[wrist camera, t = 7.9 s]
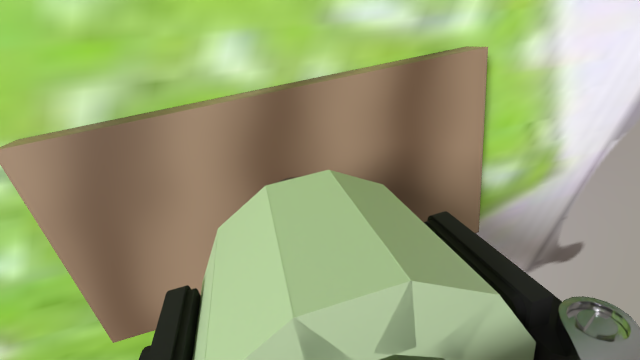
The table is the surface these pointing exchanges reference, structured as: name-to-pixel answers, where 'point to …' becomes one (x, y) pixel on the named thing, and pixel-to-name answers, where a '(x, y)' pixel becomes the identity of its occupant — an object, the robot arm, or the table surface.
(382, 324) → the ring
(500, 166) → the table surface
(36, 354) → the table surface
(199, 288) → the post stand
